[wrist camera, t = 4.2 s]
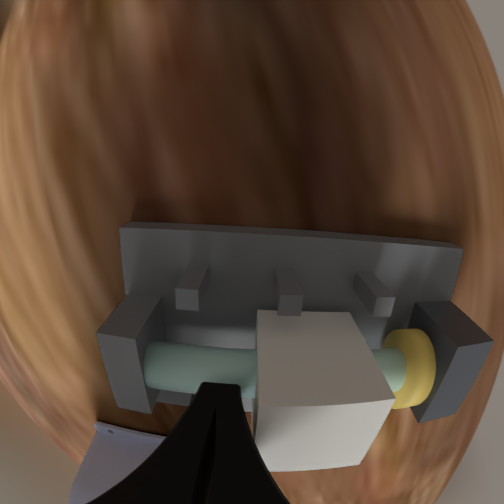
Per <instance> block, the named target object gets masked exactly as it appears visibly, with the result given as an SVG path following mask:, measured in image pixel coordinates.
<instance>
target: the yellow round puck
mask: <svg viewBox="0 0 504 504" xmlns="http://www.w3.org/2000/svg"><path fill="white" fill-rule="evenodd" d="M395 347H396V348H399V349H400V350H401V351H402V352H403V354H404V356H405V360H406V378H405V382H404V384H403V386H402V388H401V389H400V390H399V391H396V392H393V394H394V396H395V398H396V399H395V401H394V403H393V406H392V408H393V409H399V408H405V407H411V406H416V405H419V404H421V403H422V402H423V401H424V400H425V399H426V398H427V397H428V395H429V393H430V391H431V389H432V387H433V383H434V379H435V373H436V359H435V352H434V348H433V345H432V343H431V341H430V339H429V337H428V336H427V334H426V333H425V332H424V331H422V330H420V329H417V328H415V329H397V330H393V331H392V332H390V333H389V334H388V335H387V337H386V339H385V340H384V342H383V345H382V348H395Z"/></svg>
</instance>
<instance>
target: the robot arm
mask: <svg viewBox="0 0 504 504" xmlns="http://www.w3.org/2000/svg"><path fill="white" fill-rule="evenodd" d="M94 427H95V429H96V431H97V432H96V434H95V436H94V438H93V440H92V442H91V444H90V446H89V448H88V451H87V453H86V455H85V457H84V459H83V461H82V463H81V466H80V468H79V470H78V472H77V475H76V477H75V479H74V482H73V484H72V487H71V492H70V499H69V503H70V504H290V503H289V501H288V500H287V499H286V497H285V496H284V495H283V493H282V492H281V490H280V489H279V487H278V485H277V484H276V482H275V481H274V479H273V477H272V476H271V474H270V472H269V470H268V469H267V467H266V465H265V463H264V461H263V459H262V457H261V455H260V453H259V450H258V448H257V446H256V444H255V441H254V439H253V436H252V433H251V431H250V428H249V425H248V422H247V419H246V415H245V412H244V408H243V403H242V397H241V387H240V386H239V385H238V384H226V383H213V382H202V383H201V384H200V386H199V388H198V390H197V392H196V394H195V396H194V398H193V399H192V401H191V403H190V404H189V406H188V408H187V409H186V411H185V412H184V414H183V415H182V416H181V418H180V419H179V421H178V422H177V424H176V425H175V426H174V428H173V429H172V430H171V432H170V433H169V434H168V435H167V436H166V437H165V436H160V435H154V434H149V433H144V432H139V431H135V430H130V429H126V428H122V427H118V426H114V425H110V424H106V423H103V422H98V421H97V422H96V423H95V424H94Z"/></svg>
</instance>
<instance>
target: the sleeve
mask: <svg viewBox="0 0 504 504" xmlns="http://www.w3.org/2000/svg"><path fill="white" fill-rule="evenodd" d="M254 349H257V377H256V388H255V398H252V432H251V433H252V436H253V439H254V441H255V444H256V446H257V448H258V450H259V453H260V455H261V457H262V459H263V461H264V463H265V465H266V467H267V469H268V470H269V471H303V470H317V469H328V468H337V467H345V466H352V465H359V464H360V462H361V461H362V459H363V457H364V456H365V454H366V453H367V451H368V449H369V448H370V446H371V444H372V443H373V441H374V439H375V437H376V436H377V434H378V432H379V430H380V428H381V427H382V425H383V423H384V421H385V419H386V417H387V415H388V413H389V411H390V409H391V408H392V406H393V403H394V401H395V399H396V398H395V396H394V394H393V392H392V390H391V388H390V386H389V384H388V382H387V380H386V378H385V376H384V374H383V372H382V371H381V369H380V367H379V365H378V363H377V361H376V359H375V357H374V356H373V354H372V352H371V350H370V348H369V346H368V345H367V343H366V341H365V339H364V337H363V335H362V334H361V332H360V330H359V328H358V326H357V325H356V323H355V321H354V319H353V318H352V316H351V314H350V312H308V311H301V316H278V314H277V310H257V321H256V334H255V347H254Z"/></svg>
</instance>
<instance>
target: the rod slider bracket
mask: <svg viewBox="0 0 504 504" xmlns="http://www.w3.org/2000/svg"><path fill="white" fill-rule="evenodd" d="M119 233H120V248H121V260H122V270H123V280H124V288H125V296H126V297H125V298H124V299H123V300H122V302H121V303H120V304H119V305H118V306H117V308H116V309H115V310H114V311H113V312H112V314H111V315H110V316H109V317H108V318H107V320H106V321H105V322H104V323H103V324H102V326H101V327H100V328H99V329H98V331H97V332H96V335H97V339H98V344H99V348H100V351H101V355H102V359H103V363H104V366H105V370H106V373H107V376H108V380H109V383H110V386H111V389H112V392H113V395H114V398H115V401H116V404H117V407H119V408H123V409H128V410H133V411H137V412H142V413H148V414H152V411H153V409H154V406H155V403H156V402H160V403H167V404H173V405H181V406H189V404H190V403H191V401H192V399H193V398H194V396H195V394H196V392H197V390H198V388H199V386H200V384H201V383H202V382H213V383H226V384H238V385H239V386H240V387H241V397H242V403H243V408H244V411H248V412H252V398H255V388H256V377H257V349H254V347H255V334H256V321H257V310H277V314H278V316H301V311H308V312H350V314H351V316H352V318H353V319H354V321H355V323H356V325H357V326H358V328H359V330H360V332H361V334H362V335H363V337H364V339H365V341H366V343H367V345H368V346H369V348H370V350H371V352H372V354H373V356H374V357H375V359H376V361H377V363H378V365H379V367H380V369H381V371H382V372H383V374H384V376H385V378H386V380H387V382H388V384H389V386H390V388H391V390H392V392H396V391H399V390H400V389H401V388H402V386H403V384H404V382H405V378H406V360H405V356H404V354H403V352H402V351H401V350H400V349H399V348H396V347H395V348H382V345H383V342H384V340H385V339H386V337H387V335H388V334H389V333H390V332H392V331H393V330H397V329H415V328H417V329H420V330H422V331H424V332H425V333H426V334H427V336H428V337H429V339H430V341H431V343H432V345H433V348H434V352H435V359H436V373H435V379H434V383H433V387H432V389H431V391H430V393H429V395H428V397H427V398H426V399H425V400H424V401H423V402H422V403H421V404H419V405H416V406H411V407H410V408H411V410H412V412H413V414H414V416H415V418H416V420H417V422H418V423H422V422H426V421H430V420H434V419H438V418H442V417H445V416H449V415H452V414H455V413H456V412H457V410H458V408H459V407H460V405H461V403H462V402H463V400H464V399H465V397H466V395H467V393H468V392H469V390H470V388H471V386H472V385H473V383H474V381H475V379H476V377H477V375H478V373H479V371H480V370H481V368H482V366H483V364H484V362H485V359H486V357H487V355H488V353H489V351H490V349H491V347H492V344H493V342H494V340H493V339H492V338H491V337H490V336H489V335H487V334H486V333H485V332H484V331H483V330H482V329H481V328H480V327H479V326H478V325H477V324H476V323H475V322H473V321H472V320H471V319H470V318H469V317H468V316H467V315H466V314H465V313H464V312H462V311H461V310H460V309H459V308H458V307H457V306H456V305H454V304H453V303H452V302H451V301H450V300H451V297H452V294H453V290H454V287H455V283H456V280H457V276H458V272H459V268H460V264H461V260H462V256H463V252H464V249H463V248H461V247H459V246H457V245H455V244H453V243H451V242H442V241H432V240H422V239H411V238H400V237H389V236H377V235H365V234H352V233H339V232H326V231H312V230H297V229H281V228H265V227H247V226H229V225H208V224H186V223H160V222H128V223H126V224H125V225H123V226H121V227H119Z"/></svg>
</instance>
